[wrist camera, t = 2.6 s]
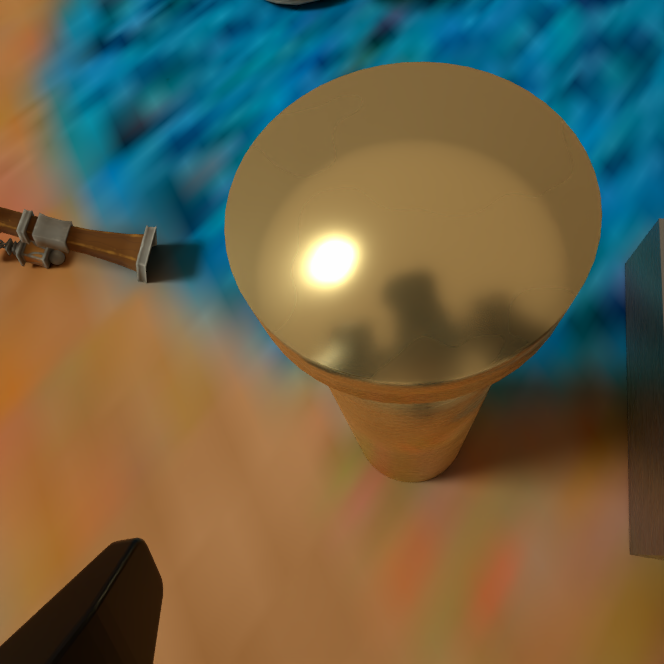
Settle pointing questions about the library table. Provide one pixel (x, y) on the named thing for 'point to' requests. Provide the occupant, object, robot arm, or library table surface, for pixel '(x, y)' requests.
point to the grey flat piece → (646, 393)
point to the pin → (413, 246)
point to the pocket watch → (291, 1)
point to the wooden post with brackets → (72, 242)
